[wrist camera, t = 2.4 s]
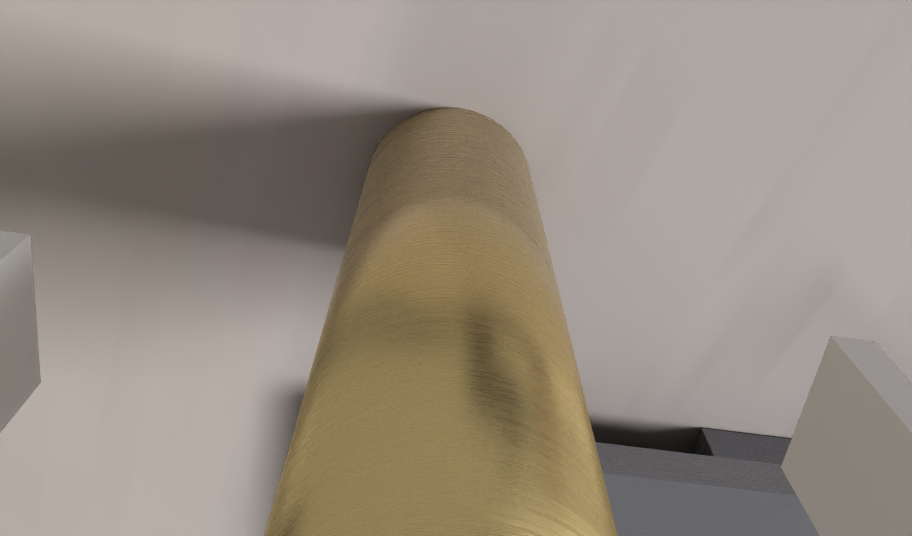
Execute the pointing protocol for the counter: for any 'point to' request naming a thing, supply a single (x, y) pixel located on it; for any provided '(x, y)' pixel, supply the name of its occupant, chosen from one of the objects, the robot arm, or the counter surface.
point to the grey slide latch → (704, 488)
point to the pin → (444, 358)
